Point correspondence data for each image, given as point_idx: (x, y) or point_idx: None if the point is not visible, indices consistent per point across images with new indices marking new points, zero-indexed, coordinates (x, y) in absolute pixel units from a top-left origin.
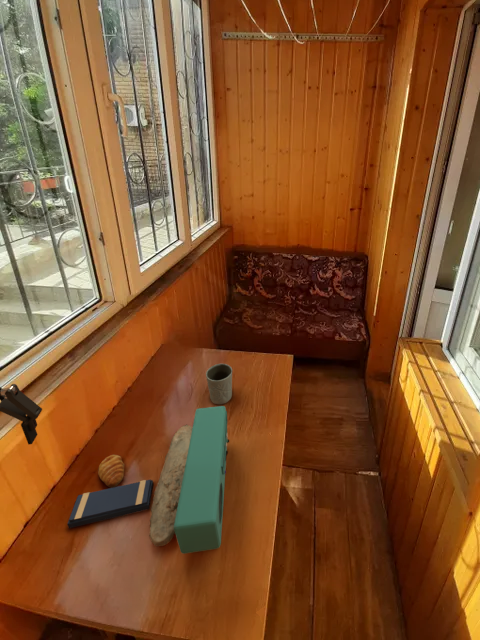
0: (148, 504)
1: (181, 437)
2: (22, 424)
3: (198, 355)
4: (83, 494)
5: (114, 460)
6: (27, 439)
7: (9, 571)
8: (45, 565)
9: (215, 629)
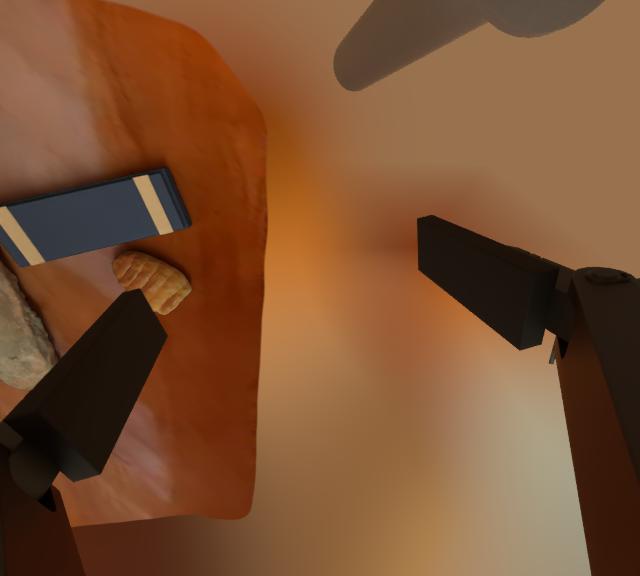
0: None
1: (20, 363)
2: (19, 414)
3: (159, 514)
4: (171, 229)
5: (150, 302)
6: (117, 308)
7: (234, 82)
8: (160, 89)
9: None
